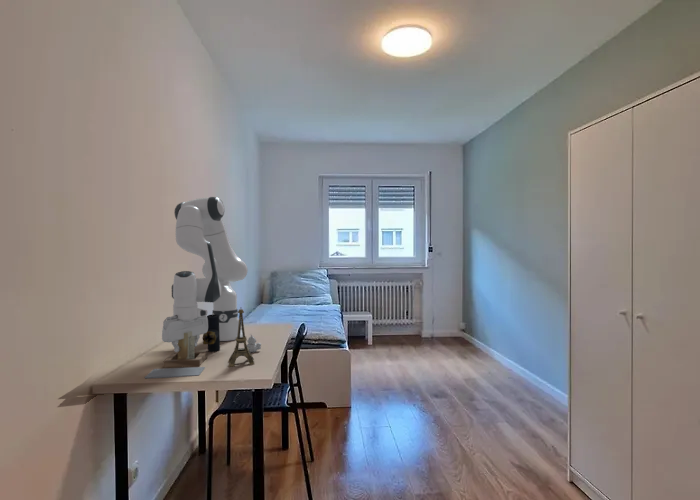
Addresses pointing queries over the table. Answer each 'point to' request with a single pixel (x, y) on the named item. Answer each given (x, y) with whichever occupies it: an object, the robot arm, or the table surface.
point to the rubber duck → (253, 345)
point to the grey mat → (175, 372)
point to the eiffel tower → (239, 339)
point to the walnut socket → (184, 361)
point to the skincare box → (186, 346)
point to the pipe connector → (212, 333)
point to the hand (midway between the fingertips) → (186, 349)
